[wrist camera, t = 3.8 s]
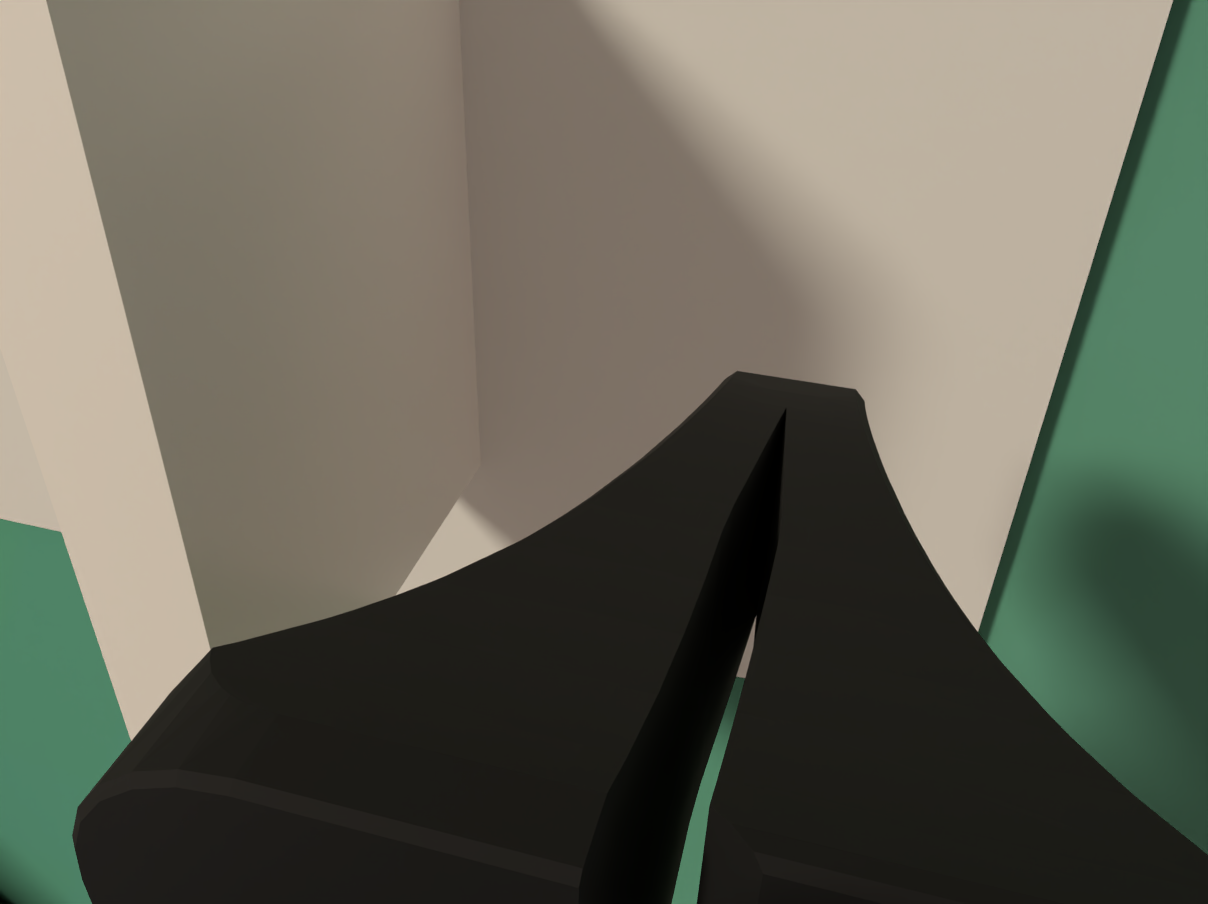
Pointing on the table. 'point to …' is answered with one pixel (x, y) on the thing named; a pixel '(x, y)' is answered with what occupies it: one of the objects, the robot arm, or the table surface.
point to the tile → (236, 307)
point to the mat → (771, 240)
